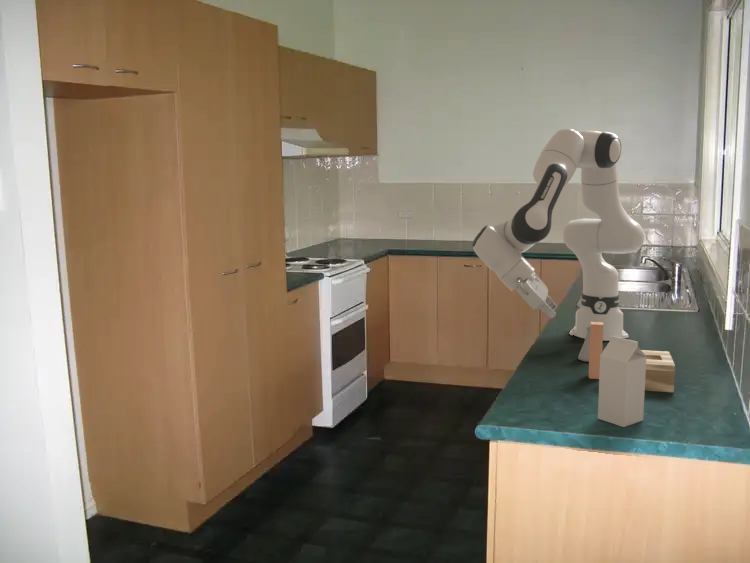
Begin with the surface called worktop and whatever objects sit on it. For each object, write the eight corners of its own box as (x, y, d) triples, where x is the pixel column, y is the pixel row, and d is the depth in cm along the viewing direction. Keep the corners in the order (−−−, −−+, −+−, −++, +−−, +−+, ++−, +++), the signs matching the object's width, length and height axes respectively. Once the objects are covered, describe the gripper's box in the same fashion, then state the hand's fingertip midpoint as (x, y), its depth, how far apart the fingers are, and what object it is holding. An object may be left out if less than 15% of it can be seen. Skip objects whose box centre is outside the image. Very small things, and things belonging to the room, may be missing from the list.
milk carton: (624, 428, 162) (628, 344, 159) (597, 419, 168) (600, 338, 165) (643, 421, 166) (647, 339, 163) (616, 412, 172) (620, 333, 169)
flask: (598, 356, 221) (599, 323, 219) (606, 362, 214) (607, 329, 212) (574, 356, 221) (575, 324, 219) (581, 363, 213) (583, 329, 212)
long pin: (588, 375, 202) (590, 321, 199) (600, 375, 201) (603, 322, 198) (588, 378, 199) (590, 324, 196) (601, 379, 198) (603, 324, 195)
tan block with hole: (628, 374, 202) (629, 349, 201) (667, 376, 199) (668, 351, 198) (631, 389, 189) (633, 363, 188) (673, 392, 186) (675, 365, 185)
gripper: (524, 274, 190) (562, 312, 189) (530, 263, 209) (564, 298, 208) (506, 290, 192) (544, 328, 191) (513, 278, 211) (547, 312, 210)
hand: (554, 312), depth 200 cm, fingers open, 8 cm apart
